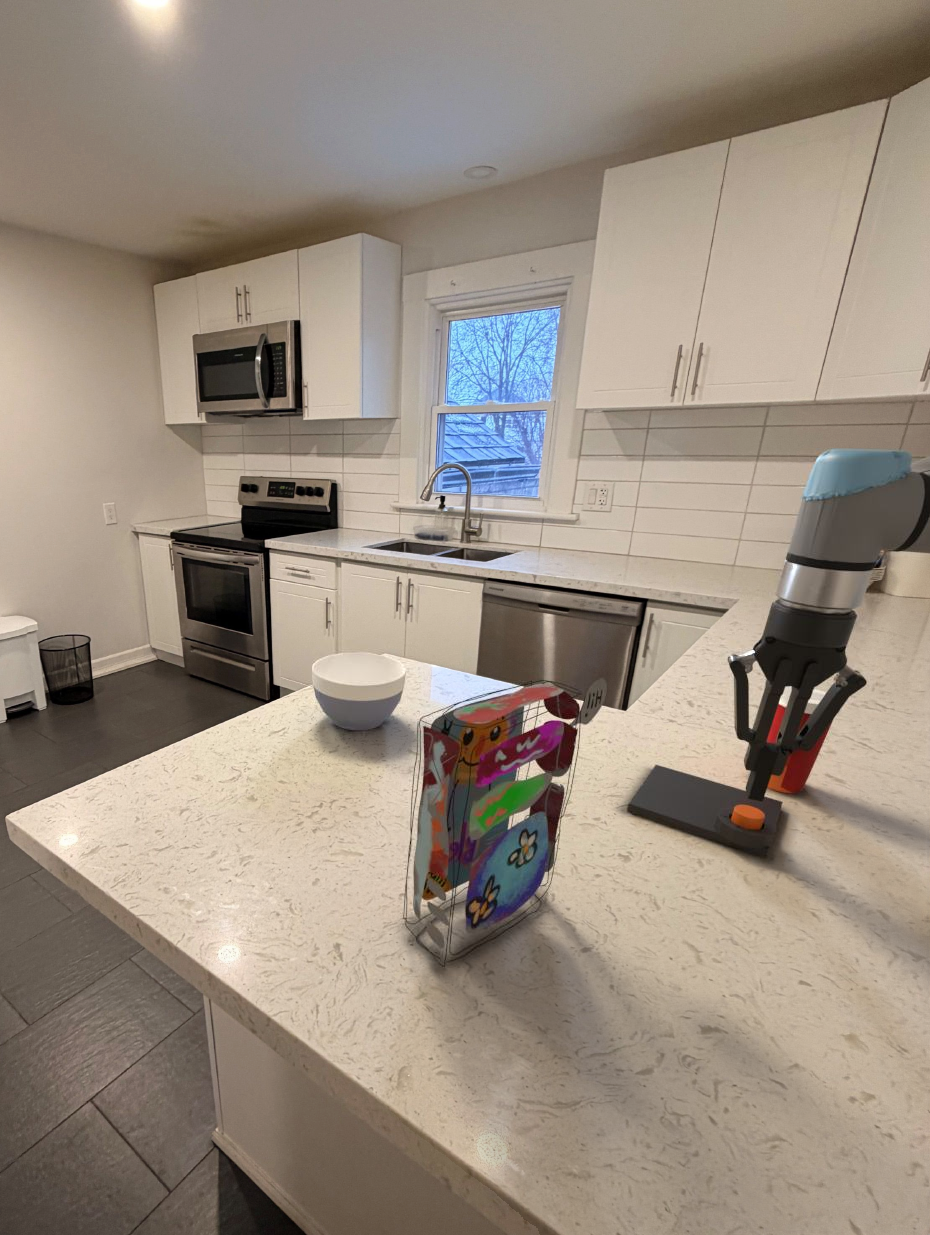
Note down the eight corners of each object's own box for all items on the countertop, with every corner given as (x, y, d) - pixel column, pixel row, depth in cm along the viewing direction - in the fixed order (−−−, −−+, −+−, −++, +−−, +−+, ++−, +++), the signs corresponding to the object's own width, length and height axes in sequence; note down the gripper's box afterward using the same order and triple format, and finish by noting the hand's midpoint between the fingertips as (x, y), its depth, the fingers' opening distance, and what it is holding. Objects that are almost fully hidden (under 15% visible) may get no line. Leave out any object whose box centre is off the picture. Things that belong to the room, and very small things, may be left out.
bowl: (293, 716, 112) (292, 665, 109) (358, 694, 122) (359, 646, 118) (355, 749, 101) (357, 693, 98) (422, 721, 111) (425, 669, 108)
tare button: (762, 822, 79) (766, 810, 78) (759, 834, 77) (763, 822, 76) (733, 813, 81) (736, 801, 80) (728, 824, 79) (732, 812, 78)
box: (552, 846, 79) (585, 658, 69) (597, 872, 74) (639, 675, 64) (400, 932, 65) (415, 714, 55) (444, 971, 60) (469, 740, 51)
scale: (780, 809, 87) (787, 790, 86) (765, 863, 76) (772, 842, 75) (653, 771, 96) (658, 753, 95) (624, 814, 85) (628, 795, 84)
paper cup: (811, 780, 94) (841, 692, 89) (811, 803, 88) (844, 710, 83) (749, 765, 98) (774, 680, 93) (745, 786, 92) (773, 697, 87)
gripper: (880, 603, 69) (811, 792, 78) (740, 589, 74) (691, 769, 83) (903, 621, 62) (825, 824, 72) (748, 604, 67) (694, 796, 77)
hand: (753, 794), depth 77 cm, fingers closed
